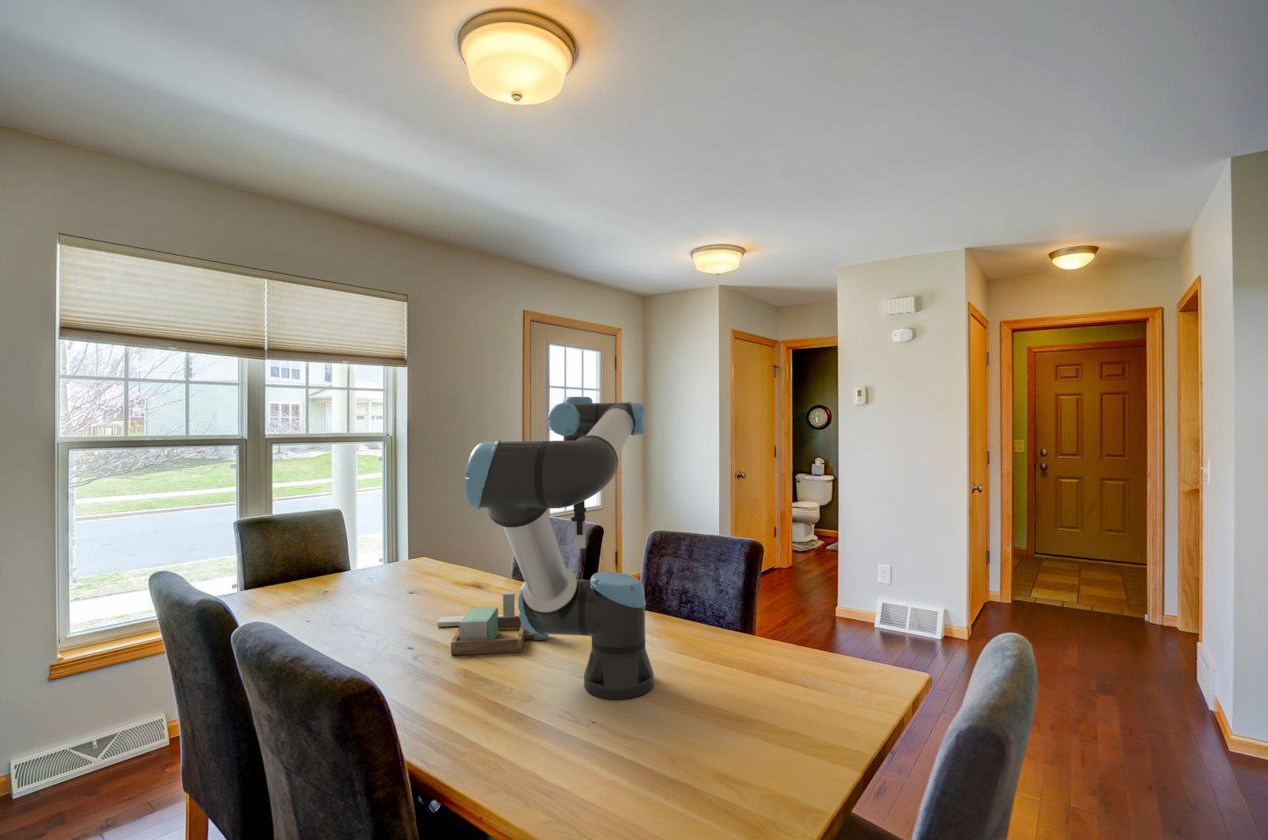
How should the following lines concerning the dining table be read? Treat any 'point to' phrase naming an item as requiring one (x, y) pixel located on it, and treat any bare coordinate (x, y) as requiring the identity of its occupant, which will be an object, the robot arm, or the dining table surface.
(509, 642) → the walnut frame
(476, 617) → the box
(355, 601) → the dining table surface
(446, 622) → the grey l-shaped bracket
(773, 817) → the dining table surface
